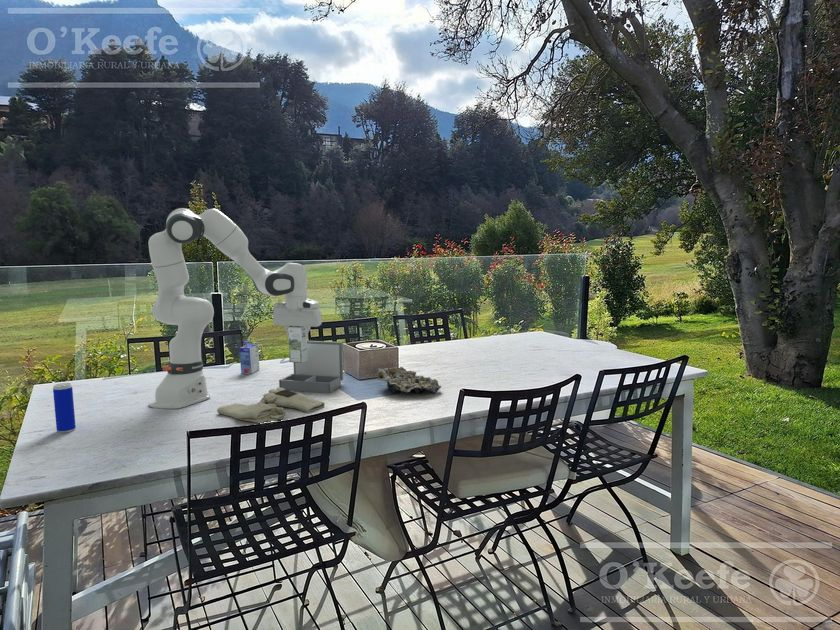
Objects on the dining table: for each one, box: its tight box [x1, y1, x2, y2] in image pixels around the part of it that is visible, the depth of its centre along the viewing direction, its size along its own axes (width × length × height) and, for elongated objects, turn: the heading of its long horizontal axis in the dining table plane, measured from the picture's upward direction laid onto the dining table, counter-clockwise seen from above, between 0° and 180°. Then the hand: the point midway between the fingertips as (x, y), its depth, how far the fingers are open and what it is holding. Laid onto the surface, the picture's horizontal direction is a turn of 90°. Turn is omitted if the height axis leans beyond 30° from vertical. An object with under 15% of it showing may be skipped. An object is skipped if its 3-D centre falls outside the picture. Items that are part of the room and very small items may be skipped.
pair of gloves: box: [216, 386, 325, 424], centre depth 202 cm, size 30×26×5 cm
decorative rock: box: [376, 365, 442, 394], centre depth 229 cm, size 22×26×10 cm
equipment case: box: [278, 340, 344, 394], centre depth 233 cm, size 14×22×18 cm, turn 76°
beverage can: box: [52, 382, 77, 434], centre depth 180 cm, size 5×5×15 cm
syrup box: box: [288, 326, 308, 363], centre depth 232 cm, size 6×6×14 cm
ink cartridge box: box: [239, 339, 260, 375], centre depth 261 cm, size 10×6×14 cm, turn 174°
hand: (297, 336), depth 231 cm, fingers closed on syrup box, 6 cm apart
